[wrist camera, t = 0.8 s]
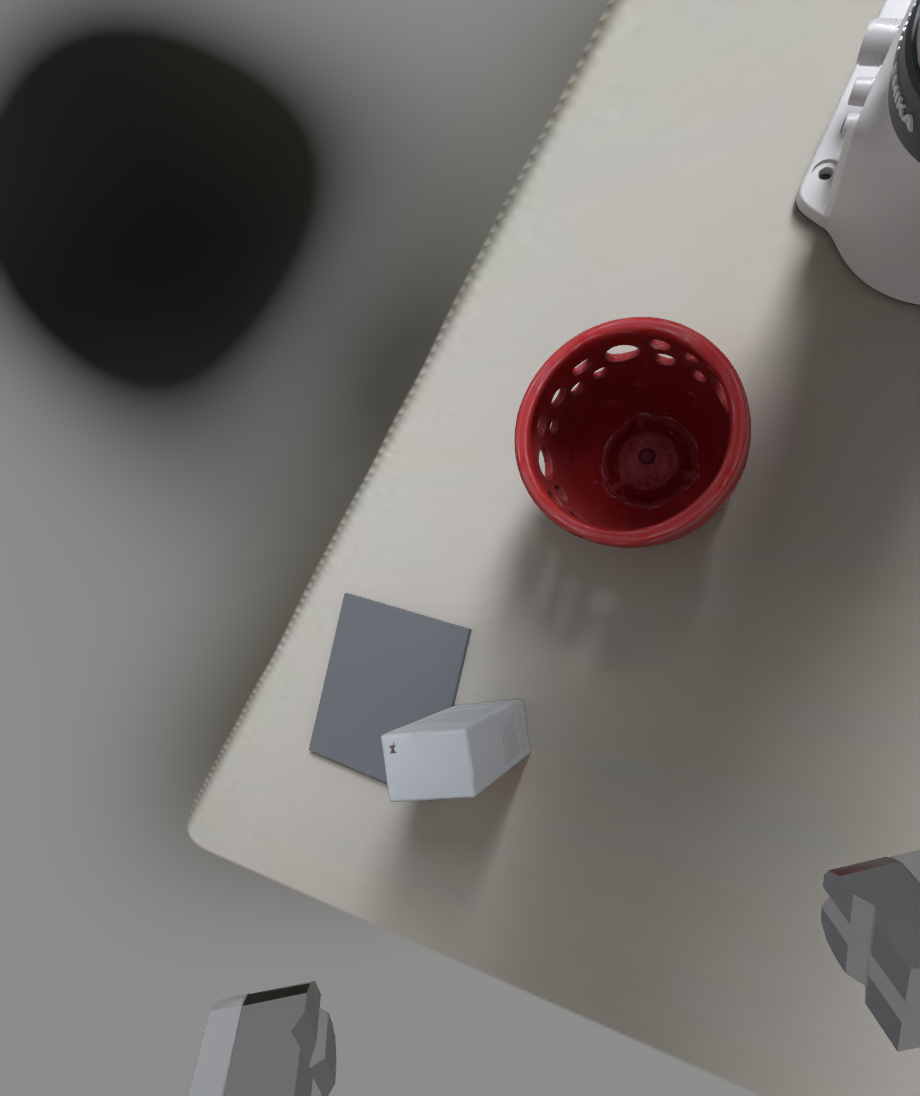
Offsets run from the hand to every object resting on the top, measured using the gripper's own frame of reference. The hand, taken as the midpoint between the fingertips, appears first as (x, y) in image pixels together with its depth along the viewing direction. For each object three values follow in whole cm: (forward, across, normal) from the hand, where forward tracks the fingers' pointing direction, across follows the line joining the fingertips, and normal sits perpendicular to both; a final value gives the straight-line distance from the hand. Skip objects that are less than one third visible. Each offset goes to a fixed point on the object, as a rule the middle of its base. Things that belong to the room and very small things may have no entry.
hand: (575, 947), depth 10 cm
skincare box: (+34, 0, +23) cm, 41 cm away
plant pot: (+37, -15, +6) cm, 41 cm away
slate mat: (+39, +8, +21) cm, 45 cm away
